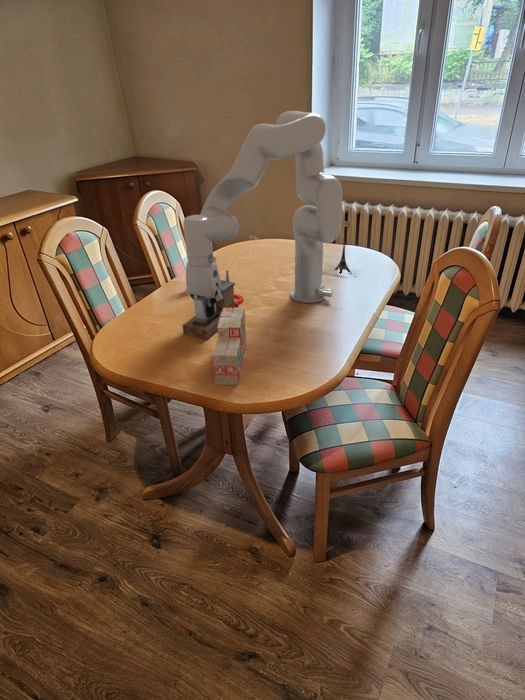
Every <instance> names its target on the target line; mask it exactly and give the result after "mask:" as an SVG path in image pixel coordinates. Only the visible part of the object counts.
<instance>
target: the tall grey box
mask: <svg viewBox="0 0 525 700" xmlns="http://www.w3.org/2000/svg"><path fill="white" fill-rule="evenodd" d="M193 305H194V306H193V307H194V314H195V316H196V324H197V325H199V326H203V327H206V326H207V325H208V324H209V323H211V322H212V321H213V320H215V319H216V318H217V315H216V303H215V304H214V308H215V314H214V315H213V316H212V317H210V318H208V317H207V306H208V304H207V299H206V297H203V296H198V297H197V298H195V299H194V300H193Z"/></svg>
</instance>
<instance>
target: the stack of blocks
mask: <svg viewBox="0 0 525 700" xmlns="http://www.w3.org/2000/svg"><path fill="white" fill-rule="evenodd" d="M245 312H246V311H245V307H235V308H223V309H222V312H221V316H220V319H219V323H218V327H217V329H218V332H217V340H216V343H215V346H214V351H213V354H212V357H213V374H214V384H215V385H217V386H218V385H220V386H221V385H223V386H224V385H225V386H226V385H227V386H234V385H235V386H238V385H239V383H240V378H241V373H242V369H243V361H244V355H245V352H246V346H247V335H246V315H245V314H246V313H245Z"/></svg>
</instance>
